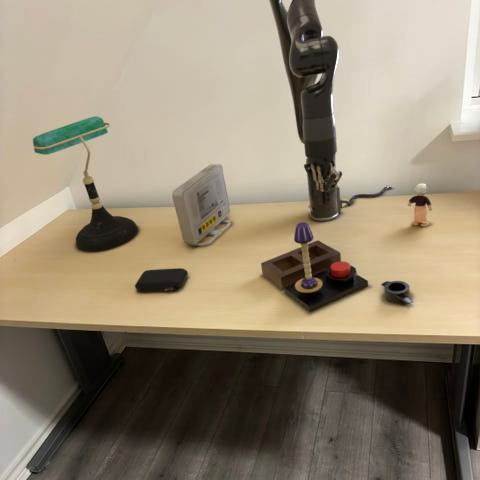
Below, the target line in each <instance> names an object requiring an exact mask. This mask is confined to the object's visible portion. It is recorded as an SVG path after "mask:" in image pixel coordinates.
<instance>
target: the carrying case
mask: <svg viewBox="0 0 480 480" xmlns="http://www.w3.org/2000/svg"><path fill="white" fill-rule="evenodd" d="M188 275H189V272H188V271H187V270H186V269H185V268H182V267H180V268H177V267H176V268H159V269H147V270H144V271H143V272H142V274H141V275H140V277H139V278H138V279H137V281H136V283H135V285H134V288H135V289H136V291H139V292H160V291H161V292H163V291H164V292H169V291H177V290H180V289H181V288H182V287H183V285H184V283H185V282H186V279H187V277H188Z"/></svg>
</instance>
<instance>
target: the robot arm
mask: <svg viewBox="0 0 480 480" xmlns="http://www.w3.org/2000/svg"><path fill="white" fill-rule="evenodd" d="M268 2H269V6H270V8H271V12H272V15H273V19H274V23H275V27H276V30H277V36H278V40H279V45H280V51H281V55H282V61H283V65H284V70H285V74H286V77H287V81H288V85H289V90H290V94H291V98H292V103H293V109H294V111H293V112H294V117H295V125H296V130H297V135H298V138H299V141H300V142H301V144H303V145H304V155H305V157H306V159H305V164H304V165H303V168H304V170H305V172H306V179H307V188H308V201H309V205H308V209H309V215H310V216H309V217H310V219H311V220H314V221H317V222H327V221H331V220H334V219H336V218H337V217H338V216H339V215H341V213H342V211H341V210H342V209H343V204H346V205H348V206H350V205H352V204H353V203H354V199H357V198H361V197H362V198H363V197H364V198H374V197H379V196H380V195H382V194H383V193H384V192H385V191H386V190H387V189H389V190H392V189H393V187H392V186H391V187H389V188H387V187H385V186H384V187H383V188H382V190H380V191H379V192H377V193H357V194H356V195H353V196H352V197H351V198H350V201H348V200H345V199H344V200H343V199H341V192H340V191H341V189H340V186H339V185H338V183H339V182H340V180H341V178H342V176H343V172H342V171H341V170H337V167H336V155H337V152H338V145H337V143H338V142H337V129H336V128H337V127H336V126H337V125H336V119H335V112H334V85H335V84H334V82H335V77H336V72H337V67H338V62H339V57H340V50H339V49H340V47H339V44H338V42H337V40H336V39H335V37H333V36H331V35H324V34H323V26H322V23H321V19H320V17H319V14H318V11H317V7H316V0H291V2H290V5H289V7H288V10H287V9H286V7H285V4H284V2H283V0H268ZM319 75H320V78H319V80H318V81H317V79H318V76H319Z"/></svg>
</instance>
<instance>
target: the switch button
mask: <svg viewBox="0 0 480 480" xmlns="http://www.w3.org/2000/svg"><path fill="white" fill-rule="evenodd" d="M350 265H351V264H350V263H349V262H347V261H343V260H341V262H335V263H333V264H332V265H331V275H332V276H334V277H345V276H348V275H349V274H350Z"/></svg>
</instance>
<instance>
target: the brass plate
mask: <svg viewBox="0 0 480 480" xmlns="http://www.w3.org/2000/svg"><path fill="white" fill-rule="evenodd" d="M313 278H314V277H313ZM303 279H304V278H303ZM303 279H301V280H299V281H297V282H296V284H295V288H296V290H298V291H299V292H303V293H310V292H315V291H317V290H319V289H320V288H321V287H322V285H323V283H322V281H321V280H320V279H318V278H315V279H316V280H317V282H318V285H317V286H316V287H314V288H312V289H304V288H302V287H301V282H302V280H303Z"/></svg>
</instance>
